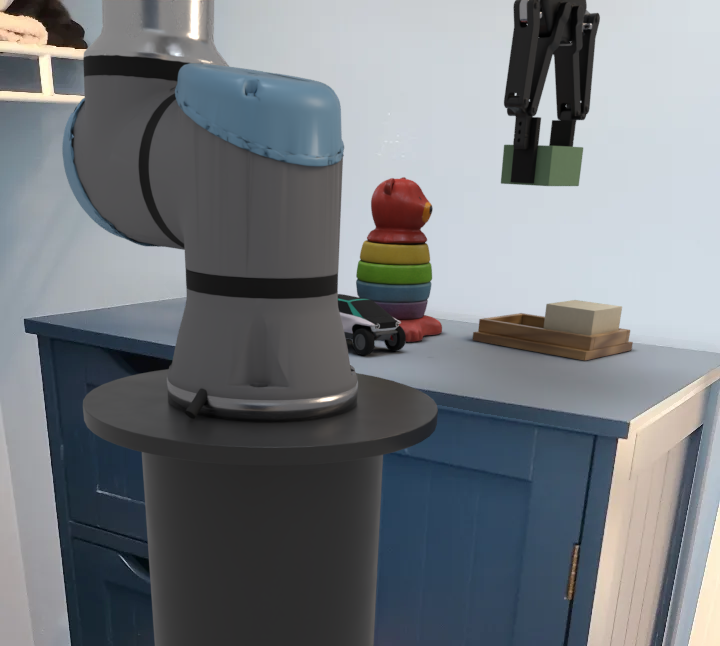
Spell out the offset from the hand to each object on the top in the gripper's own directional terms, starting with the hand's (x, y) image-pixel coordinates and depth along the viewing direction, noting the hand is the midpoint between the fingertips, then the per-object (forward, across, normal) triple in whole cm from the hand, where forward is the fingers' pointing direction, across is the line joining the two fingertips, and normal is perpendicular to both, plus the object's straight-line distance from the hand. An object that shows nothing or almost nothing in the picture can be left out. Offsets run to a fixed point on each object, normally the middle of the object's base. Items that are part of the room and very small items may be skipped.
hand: (539, 182), depth 109 cm
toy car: (+18, -20, +11) cm, 29 cm away
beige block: (+17, +2, -7) cm, 18 cm away
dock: (+18, +2, -3) cm, 18 cm away
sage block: (0, 0, 0) cm, 0 cm away
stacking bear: (+18, -8, +14) cm, 24 cm away
